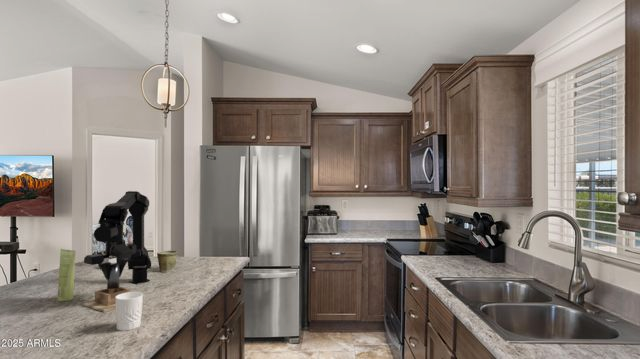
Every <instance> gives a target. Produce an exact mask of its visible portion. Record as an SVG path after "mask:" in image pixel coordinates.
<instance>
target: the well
mask: <svg viewBox="0 0 640 359" xmlns="http://www.w3.org/2000/svg"><path fill="white" fill-rule="evenodd" d="M126 292H131V288H127V287H123V286H120V285H119V287H118V288H115V289H107V288H103V289H99V290H95V291H94V299H93V300H92V299H91V300H89V301H84V302H82V306H84V307H88V308H90V309H93V310H97V311H99V312H103V313H105V312H108V311H109V312H111V311H112V310H116V308H115V297H116V296H117V295H119V294H122V293H126Z"/></svg>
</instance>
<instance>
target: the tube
mask: <svg viewBox="0 0 640 359" xmlns="http://www.w3.org/2000/svg"><path fill="white" fill-rule="evenodd" d="M59 253H60V254H59V255H60V256H59V267H58V268H59V270H58V271H59V272H58V274H59V275H58V285H57V286H58V292H57V301H58V302H66V301H67V302H68V301H71V300H73V298H74V290H75V286H74V285H75V268H76V267H75V266H76V250H75V249H72V250H71V249H66V248H65V249H63V248H60V252H59Z"/></svg>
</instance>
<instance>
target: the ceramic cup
mask: <svg viewBox="0 0 640 359" xmlns="http://www.w3.org/2000/svg"><path fill="white" fill-rule="evenodd" d="M178 254H179V252H178V250H174V249H172V250H169V249H168V250H162V251H157V253H156V255H157V261H158V268H159V272H160V273H167V274H168V273H172V272H174V271H175V268H176V263H177V259H178Z"/></svg>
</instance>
